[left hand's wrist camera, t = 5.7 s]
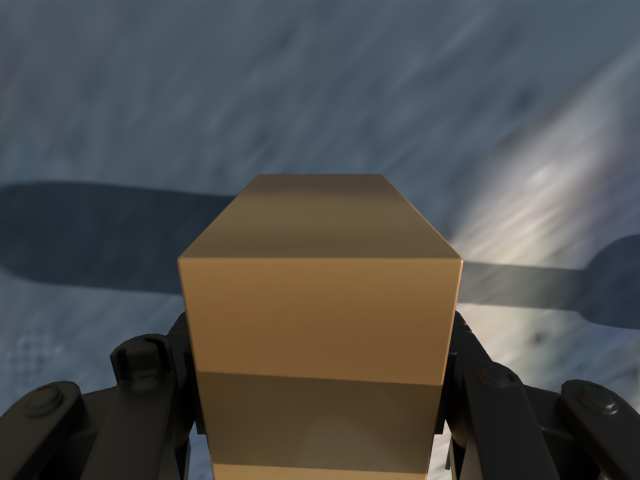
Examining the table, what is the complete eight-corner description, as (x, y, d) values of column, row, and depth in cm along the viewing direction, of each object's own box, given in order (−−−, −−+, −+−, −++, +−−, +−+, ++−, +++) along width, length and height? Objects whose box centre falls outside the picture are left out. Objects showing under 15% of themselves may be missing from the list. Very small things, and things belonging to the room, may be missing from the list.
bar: (256, 174, 14) (173, 258, 6) (383, 174, 14) (466, 258, 6) (281, 538, 22) (260, 766, 14) (358, 538, 22) (379, 766, 14)
